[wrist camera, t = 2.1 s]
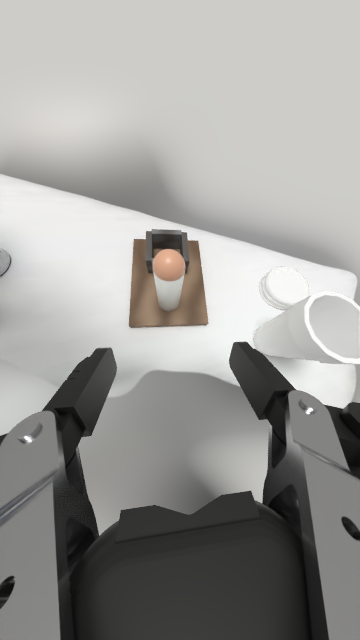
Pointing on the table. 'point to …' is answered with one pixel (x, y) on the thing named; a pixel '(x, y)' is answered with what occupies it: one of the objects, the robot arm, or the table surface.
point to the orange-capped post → (168, 278)
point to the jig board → (144, 288)
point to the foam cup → (314, 330)
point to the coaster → (283, 287)
